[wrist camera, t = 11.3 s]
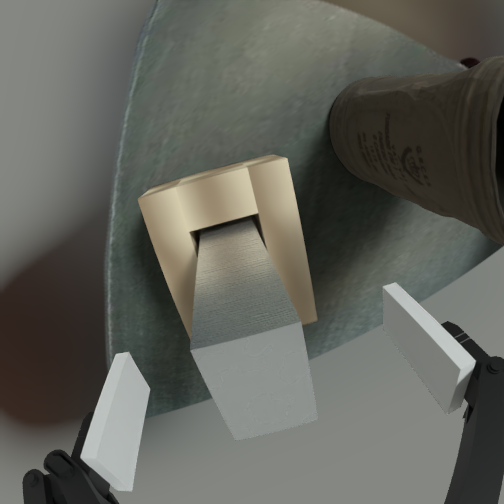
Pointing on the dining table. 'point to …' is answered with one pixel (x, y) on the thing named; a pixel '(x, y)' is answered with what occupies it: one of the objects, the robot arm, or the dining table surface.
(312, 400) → the tall grey pillar
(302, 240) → the well block
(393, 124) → the beer stein
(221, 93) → the dining table surface
